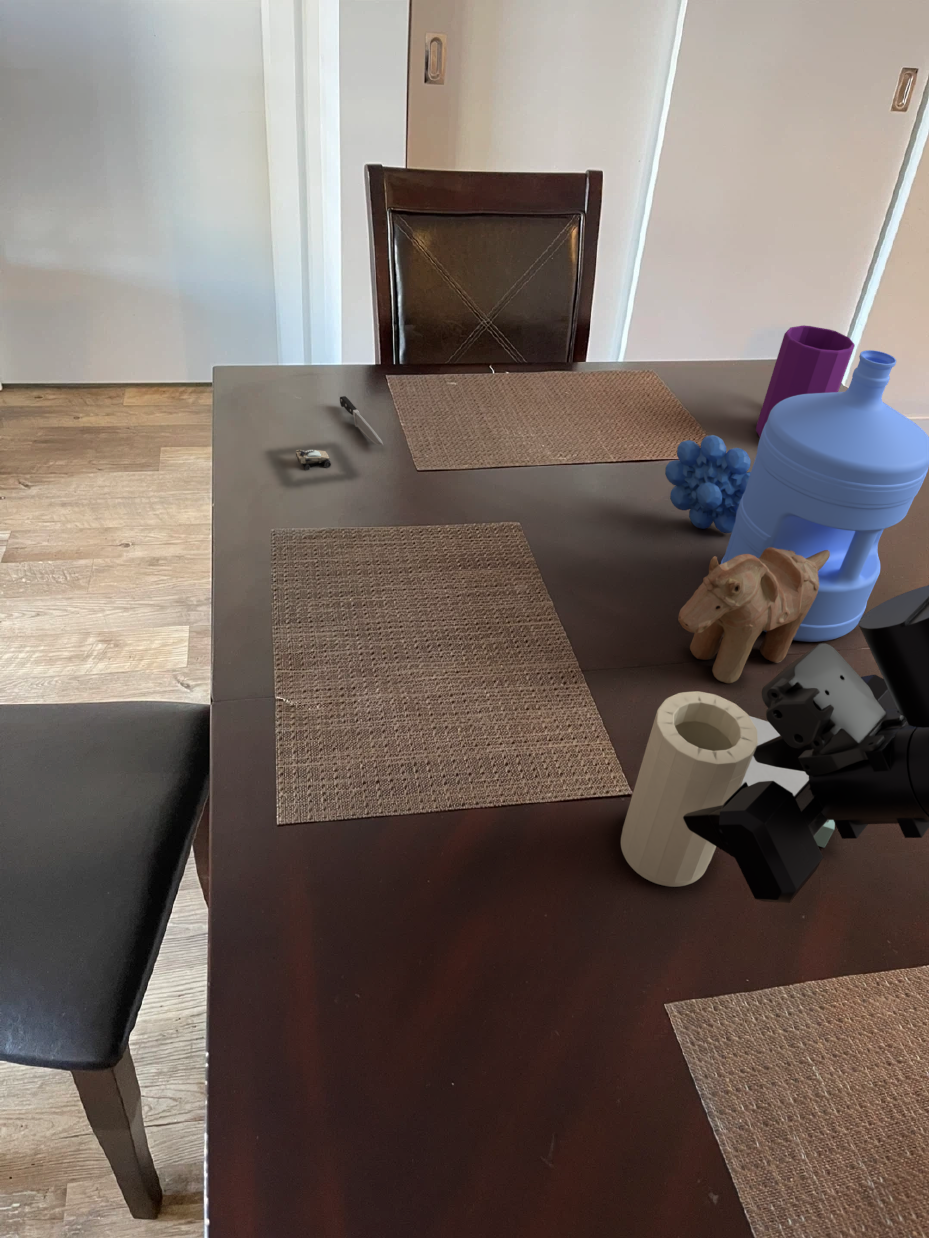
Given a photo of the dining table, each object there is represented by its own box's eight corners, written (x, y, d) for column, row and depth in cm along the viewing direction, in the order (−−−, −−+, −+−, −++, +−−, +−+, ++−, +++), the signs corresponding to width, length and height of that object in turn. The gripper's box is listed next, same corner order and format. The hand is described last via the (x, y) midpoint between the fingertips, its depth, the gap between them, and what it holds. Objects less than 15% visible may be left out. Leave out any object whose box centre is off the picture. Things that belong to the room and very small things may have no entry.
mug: (753, 446, 128) (785, 344, 119) (755, 401, 140) (784, 305, 131) (820, 459, 127) (857, 356, 117) (816, 413, 139) (850, 316, 129)
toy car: (331, 467, 115) (330, 452, 114) (299, 471, 114) (299, 457, 112) (325, 457, 117) (325, 443, 115) (294, 461, 115) (293, 447, 114)
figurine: (636, 669, 89) (669, 543, 80) (761, 619, 97) (805, 498, 88) (687, 717, 84) (729, 588, 75) (814, 660, 92) (866, 537, 83)
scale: (824, 850, 73) (836, 827, 72) (701, 808, 76) (710, 785, 74) (832, 764, 81) (844, 741, 79) (721, 729, 83) (729, 705, 82)
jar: (721, 842, 73) (771, 720, 64) (687, 902, 69) (735, 779, 60) (643, 800, 76) (681, 677, 67) (605, 855, 71) (640, 731, 63)
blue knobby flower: (645, 532, 109) (667, 442, 101) (658, 505, 114) (680, 418, 106) (743, 559, 106) (772, 468, 98) (751, 530, 111) (780, 442, 103)
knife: (385, 455, 118) (386, 441, 117) (380, 456, 118) (380, 442, 117) (344, 407, 128) (344, 394, 127) (339, 408, 128) (339, 394, 127)
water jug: (687, 569, 103) (756, 329, 85) (800, 550, 108) (887, 319, 90) (768, 658, 92) (867, 403, 74) (889, 631, 97) (1009, 387, 79)
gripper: (940, 584, 57) (741, 632, 70) (799, 726, 46) (592, 753, 59) (1010, 739, 58) (801, 759, 71) (889, 914, 47) (666, 901, 60)
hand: (722, 786), depth 65 cm, fingers open, 9 cm apart
